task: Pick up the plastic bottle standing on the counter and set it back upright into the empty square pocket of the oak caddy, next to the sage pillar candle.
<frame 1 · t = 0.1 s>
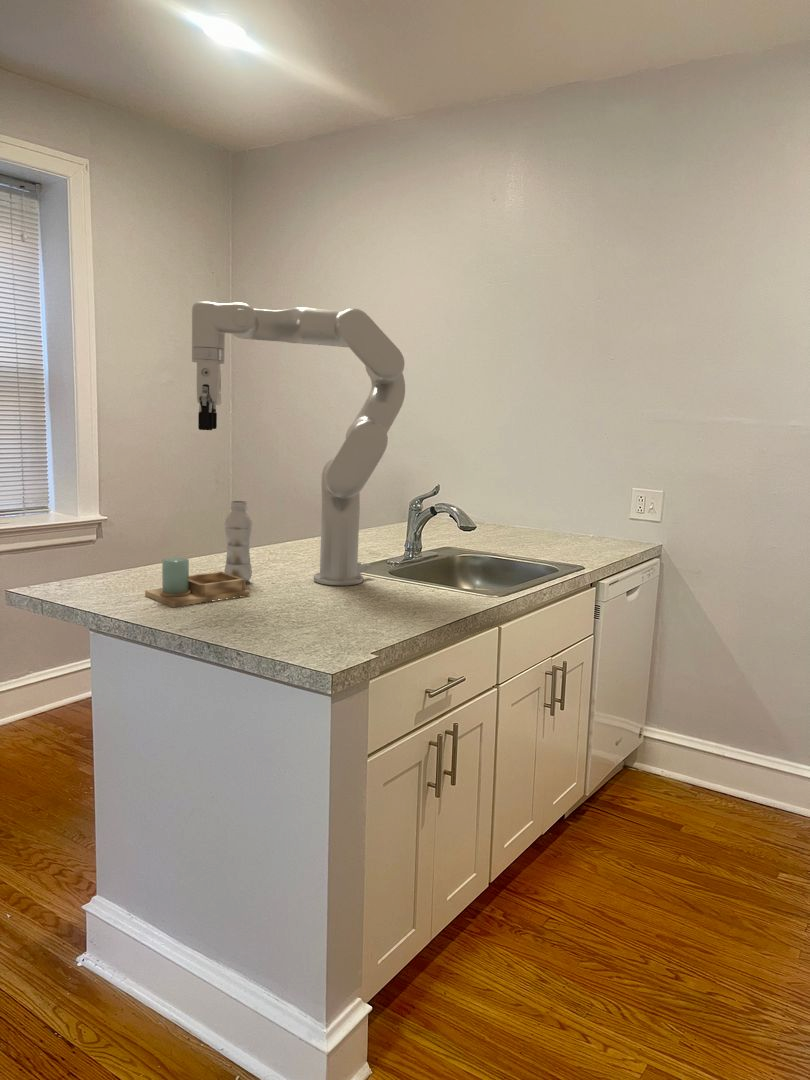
hand: (207, 429, 192), 37 cm above the counter, tool pointing down, fingers open, 9 cm apart
oak caddy: (197, 595, 182), on the counter
sage pillar candle: (175, 591, 178), point 2 cm above the counter, touching oak caddy
plastic bottle: (238, 583, 197), on the counter
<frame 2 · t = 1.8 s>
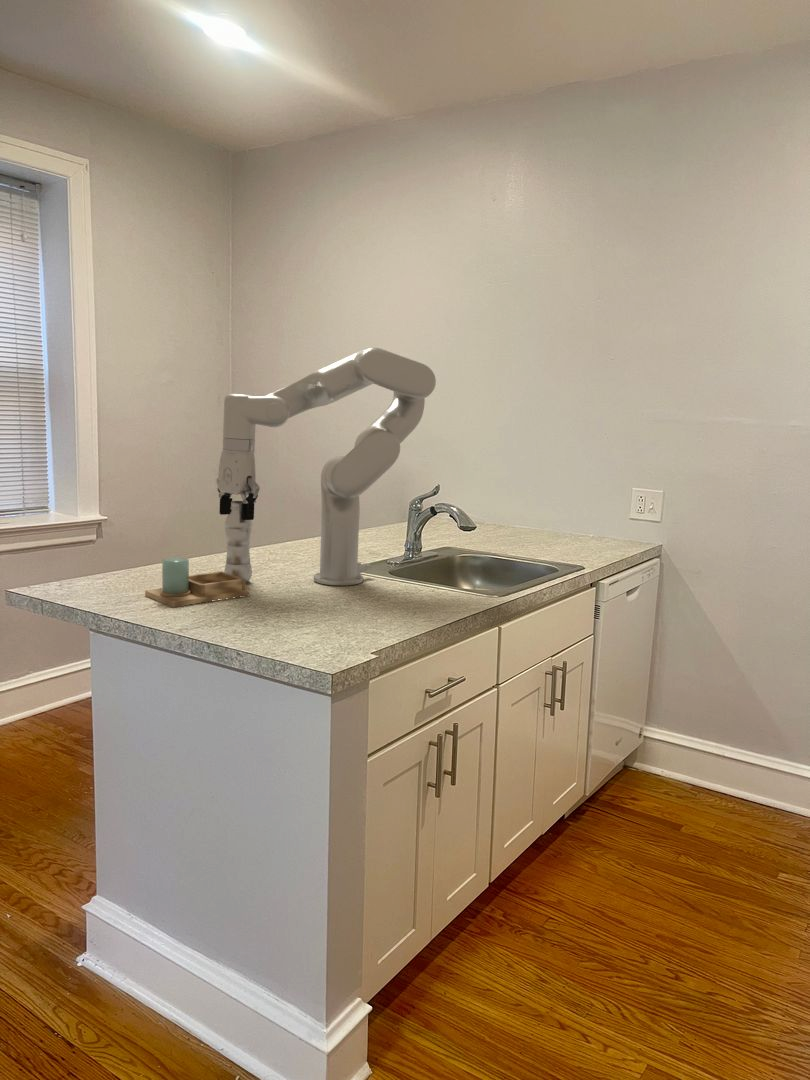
hand: (236, 517, 194), 16 cm above the counter, tool pointing down, fingers open, 9 cm apart
nothing on the counter moved.
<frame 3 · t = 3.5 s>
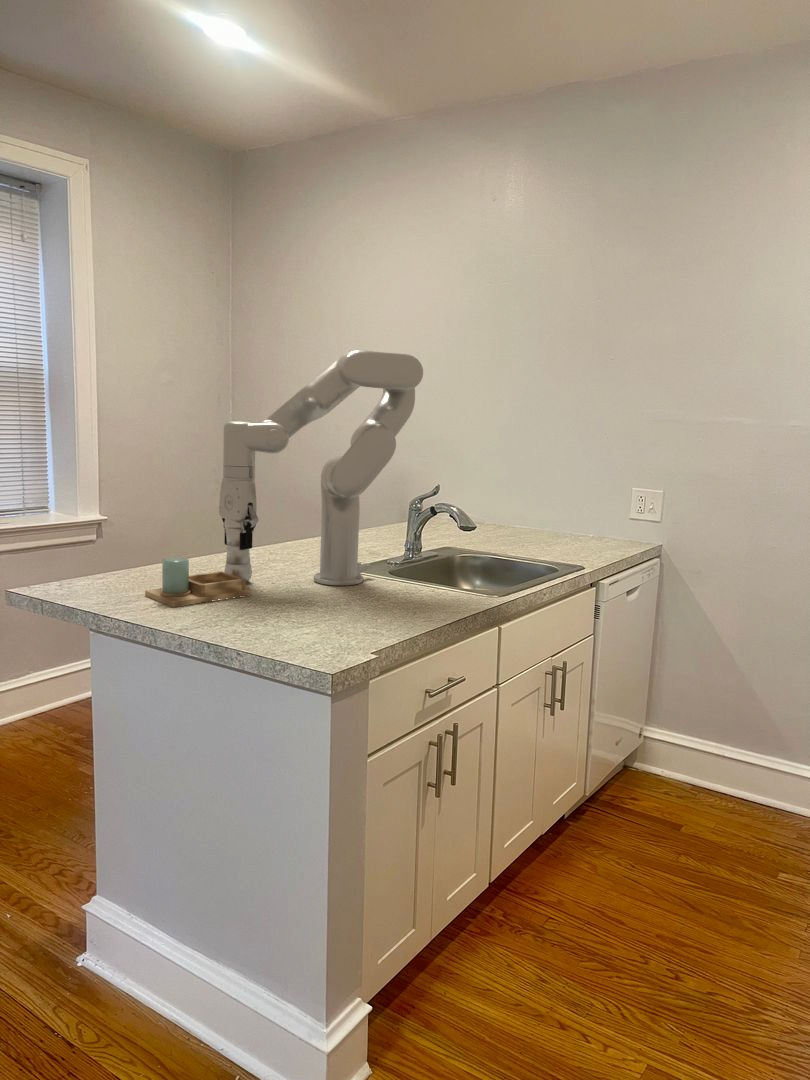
hand: (238, 545, 195), 9 cm above the counter, tool pointing down, fingers closed on plastic bottle, 6 cm apart
plastic bottle: (238, 583, 197), on the counter, touching gripper
everything else where it was.
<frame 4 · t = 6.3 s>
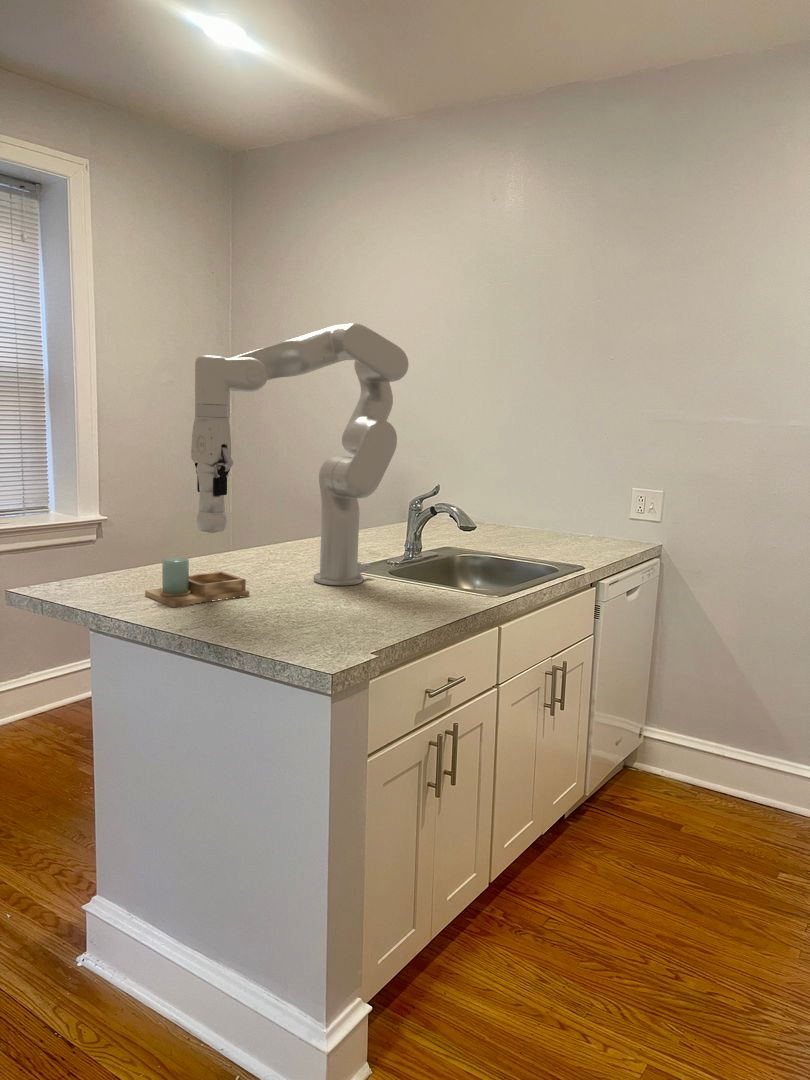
hand: (212, 492, 180), 23 cm above the counter, tool pointing down, fingers closed on plastic bottle, 6 cm apart
plastic bottle: (211, 533, 182), point 14 cm above the counter, touching gripper
everything else where it was.
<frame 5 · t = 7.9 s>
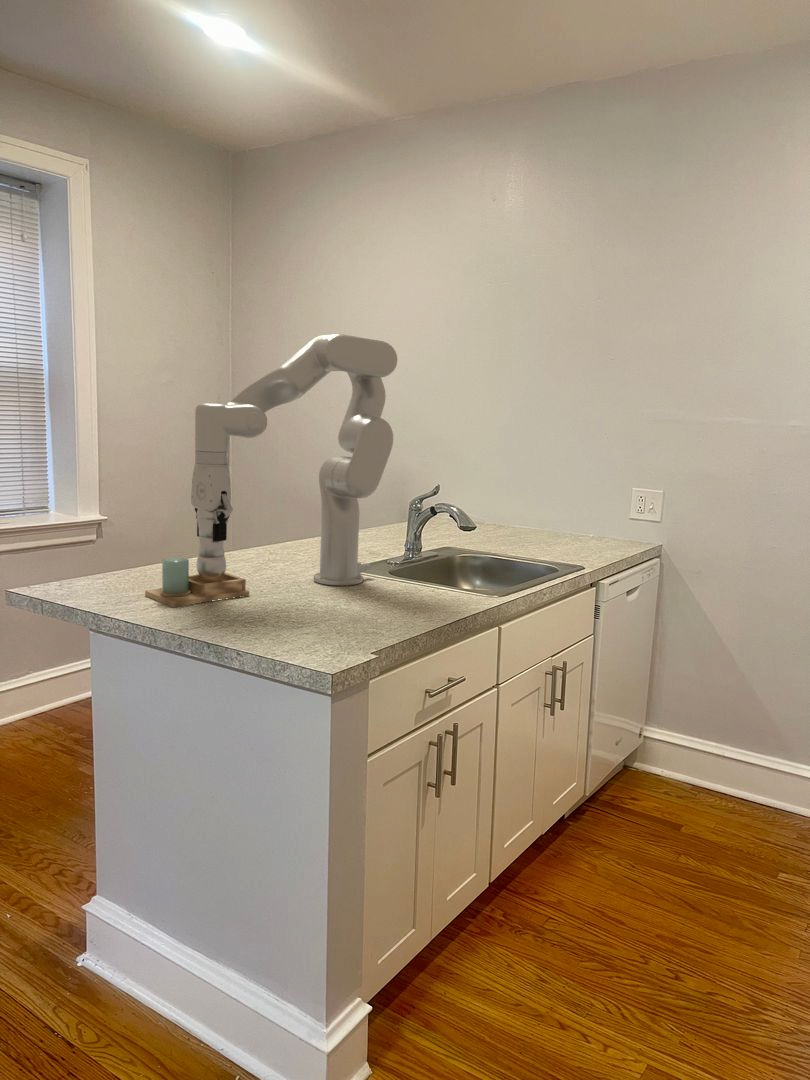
hand: (211, 537, 182), 13 cm above the counter, tool pointing down, fingers closed on plastic bottle, 6 cm apart
plastic bottle: (211, 577, 183), point 4 cm above the counter, touching gripper
everything else where it was.
when the fingers open (12 cm above the counter, at t = 9.2 s): plastic bottle drops 1 cm, resting on oak caddy.
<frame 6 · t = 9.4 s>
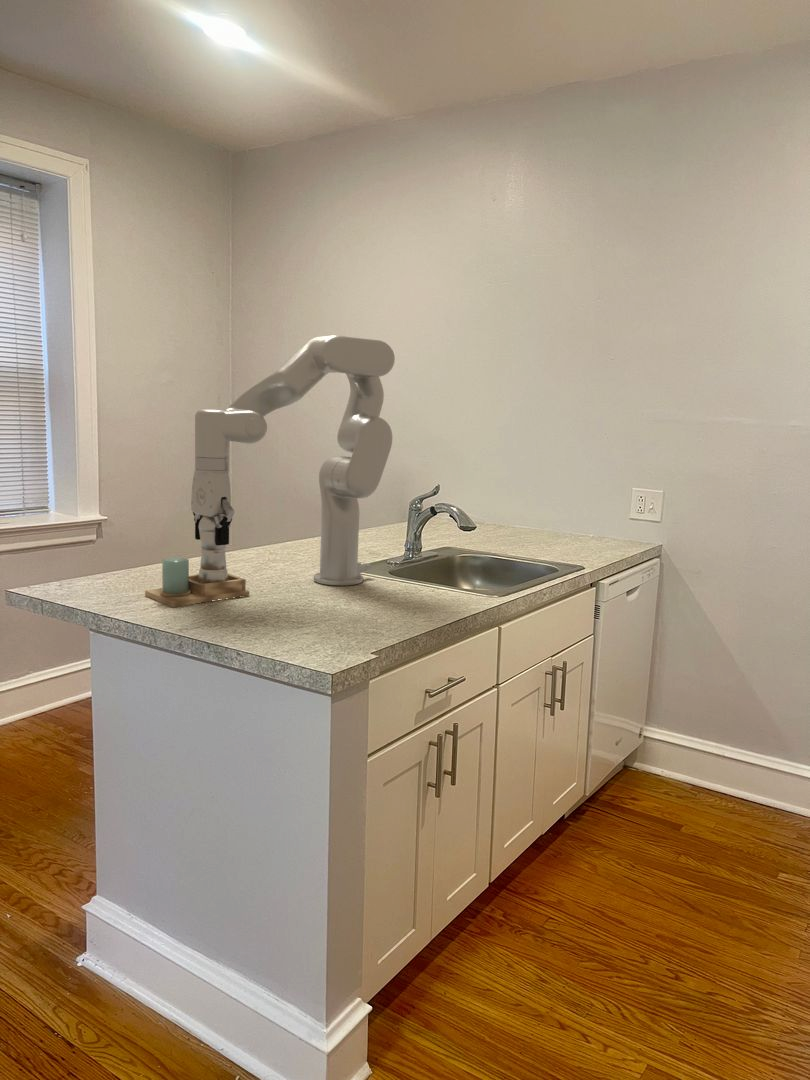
hand: (211, 541, 182), 12 cm above the counter, tool pointing down, fingers open, 8 cm apart
plastic bottle: (213, 589, 184), point 1 cm above the counter, touching oak caddy
everything else where it was.
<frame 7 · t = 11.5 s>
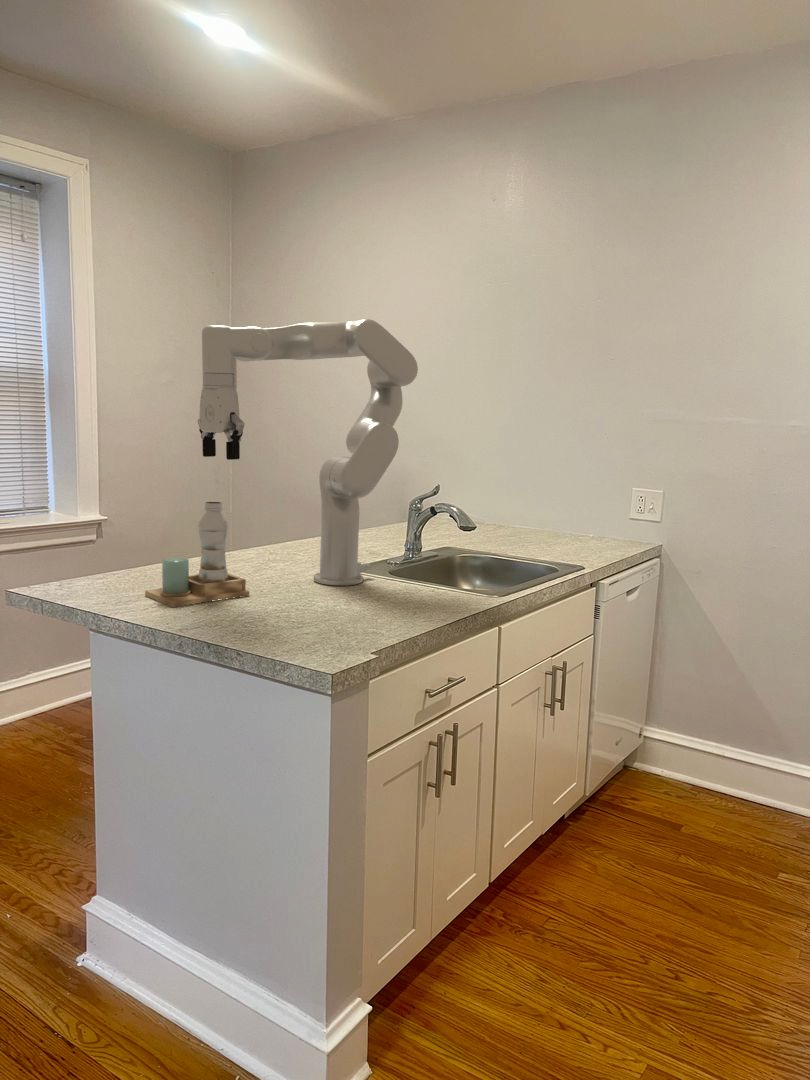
hand: (221, 457, 184), 31 cm above the counter, tool pointing down, fingers open, 9 cm apart
nothing on the counter moved.
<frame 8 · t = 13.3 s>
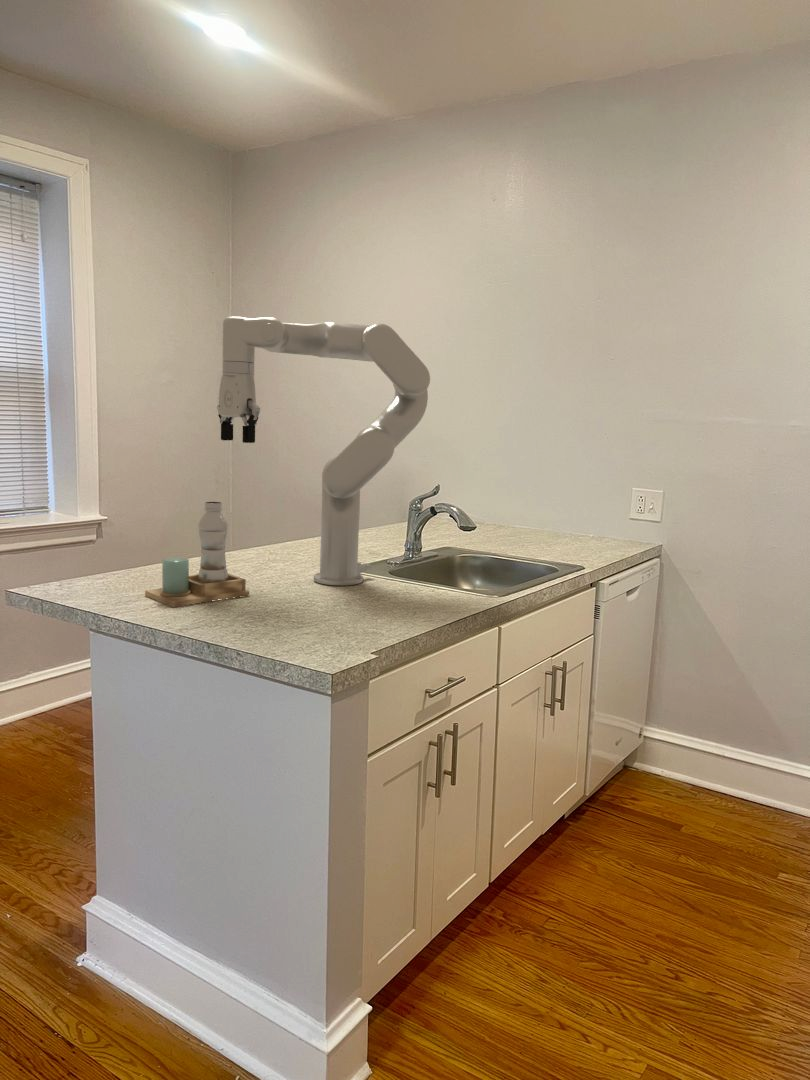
hand: (237, 441, 196), 34 cm above the counter, tool pointing down, fingers open, 9 cm apart
nothing on the counter moved.
at the end: plastic bottle inside the target area on the oak caddy (0.4 cm from its centre), point 1.0 cm above the oak caddy's base; plastic bottle tilted 0°; the gripper is holding nothing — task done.
